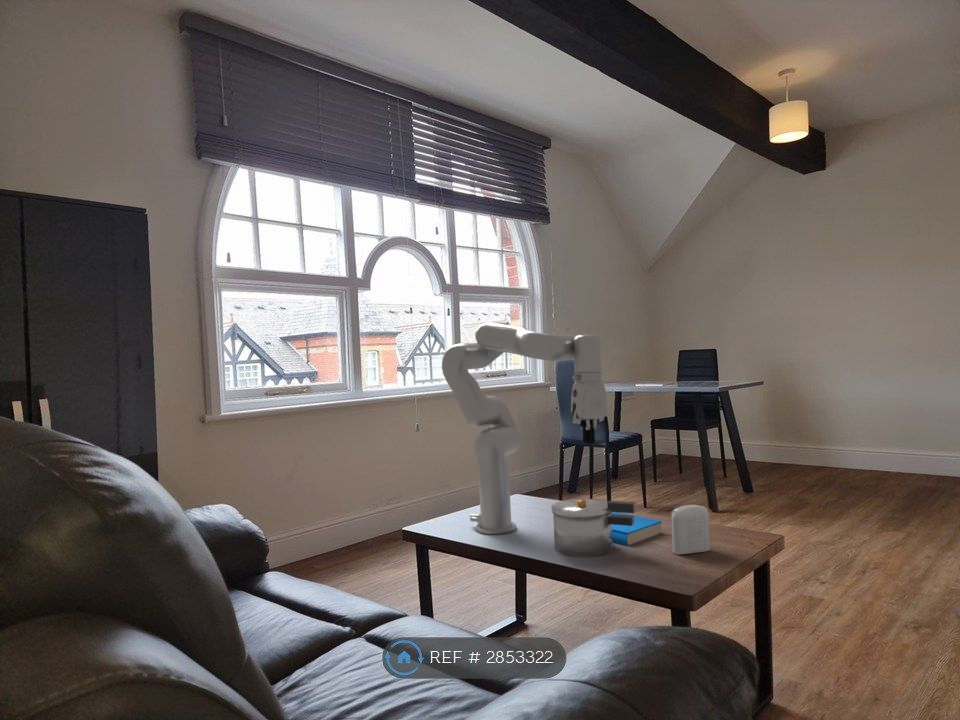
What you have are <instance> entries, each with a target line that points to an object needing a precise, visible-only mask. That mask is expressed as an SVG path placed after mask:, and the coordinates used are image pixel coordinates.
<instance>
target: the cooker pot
mask: <svg viewBox="0 0 960 720" xmlns="http://www.w3.org/2000/svg"><path fill="white" fill-rule="evenodd" d="M552 515H553V517H552V518H553V538H554V539H553V540H554V542H553V543H554V544H553V545H554V550H555V551H556V552H557V551H558V552H557V553H559V552H560V553H559V554H561V553H562V555H564V554H565V555H564V556H569V555H570V557H576V556H577V557H578V558H579V557H581V558H589V557H598V556H604V555H606V554H609V553H611V552H612V551H613V549H614V542H613V536H612V524H613V525H626V526H632V525H633V524H634V516H635V515H634V516H632V515H633V514H629V515H618V514H612V513H611V514H609V515H606V516H603V517H597V518H586V519H577V518H566V517H561V516H557V515H555V514H553V513H552Z"/></svg>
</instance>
